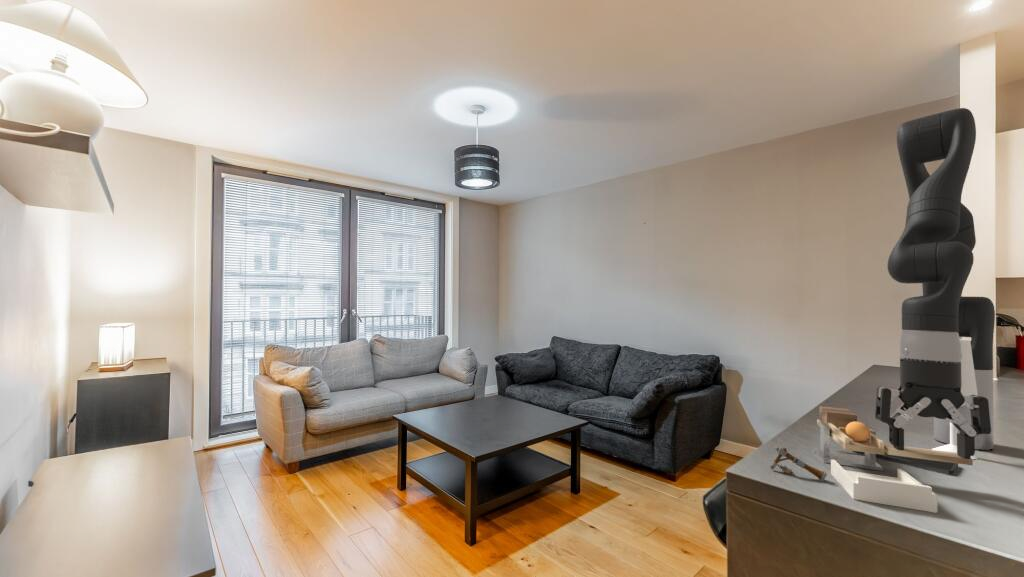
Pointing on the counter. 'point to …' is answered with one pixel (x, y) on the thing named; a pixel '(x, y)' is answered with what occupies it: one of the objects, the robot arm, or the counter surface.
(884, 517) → the counter surface
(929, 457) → the lever
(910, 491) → the tray
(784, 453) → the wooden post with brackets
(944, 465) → the phone
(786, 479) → the counter surface
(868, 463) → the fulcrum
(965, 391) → the champagne flute
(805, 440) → the counter surface
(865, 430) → the ball
